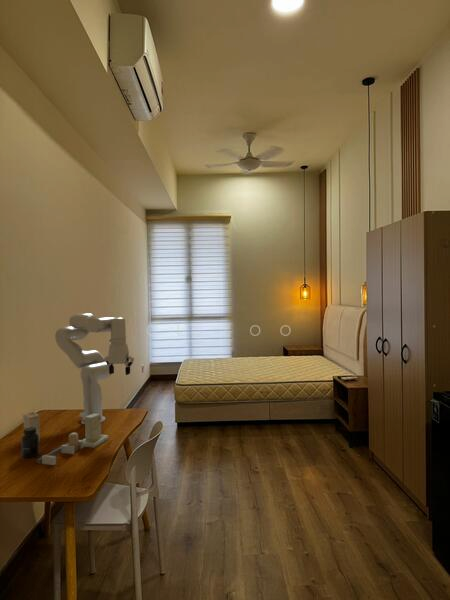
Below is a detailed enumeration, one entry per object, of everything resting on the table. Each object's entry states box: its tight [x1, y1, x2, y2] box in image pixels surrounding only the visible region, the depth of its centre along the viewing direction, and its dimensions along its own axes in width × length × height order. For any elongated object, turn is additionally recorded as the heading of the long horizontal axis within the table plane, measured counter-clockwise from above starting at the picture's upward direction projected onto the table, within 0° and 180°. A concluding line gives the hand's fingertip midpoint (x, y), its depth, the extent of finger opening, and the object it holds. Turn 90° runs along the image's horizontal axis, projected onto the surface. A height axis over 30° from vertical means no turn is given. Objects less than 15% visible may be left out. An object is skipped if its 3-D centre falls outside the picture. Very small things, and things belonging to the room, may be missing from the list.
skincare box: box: [84, 413, 102, 443], centre depth 179 cm, size 6×4×12 cm
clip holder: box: [36, 439, 84, 466], centre depth 165 cm, size 8×19×3 cm, turn 162°
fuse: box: [68, 432, 80, 453], centre depth 170 cm, size 4×4×8 cm
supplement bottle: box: [20, 427, 40, 460], centre depth 165 cm, size 7×7×12 cm
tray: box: [81, 434, 109, 449], centre depth 178 cm, size 9×11×2 cm
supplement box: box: [22, 411, 41, 443], centre depth 182 cm, size 8×5×13 cm, turn 47°
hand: (119, 374), depth 197 cm, fingers open, 9 cm apart
